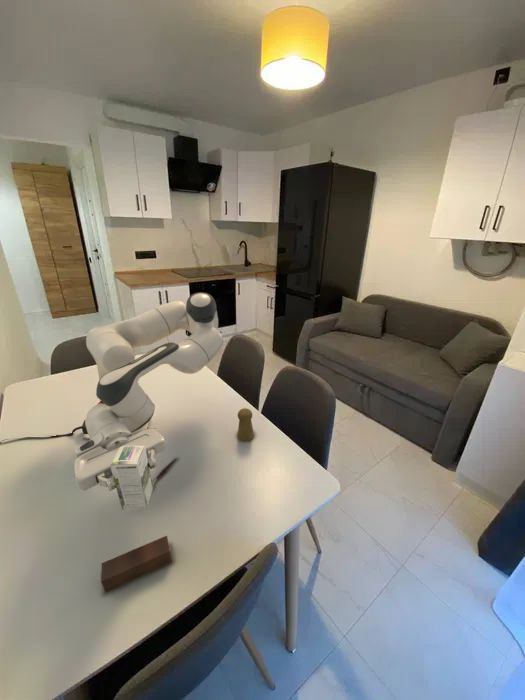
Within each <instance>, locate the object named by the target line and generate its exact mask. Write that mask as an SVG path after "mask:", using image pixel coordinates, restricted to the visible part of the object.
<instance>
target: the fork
mask: <svg viewBox="0 0 525 700" xmlns="http://www.w3.org/2000/svg"><path fill="white" fill-rule="evenodd" d="M176 460H177V458H174V459H173V460H172V461H171V462H170V463H169V464H168V465H166V466H165V467H164V468H162V470H161V472H160V473H159V474H158V475H157V477H156V478H155V479H154V480H152V485H153V487H155V486H154V485H155V483H156V482H157V481H158V480H159V479H160V478H161V477H162V476H163V475H165V473H166V472H167V471H168V470H169V469H170V467H172V465H173V464H174V463H175V461H176Z"/></svg>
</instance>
